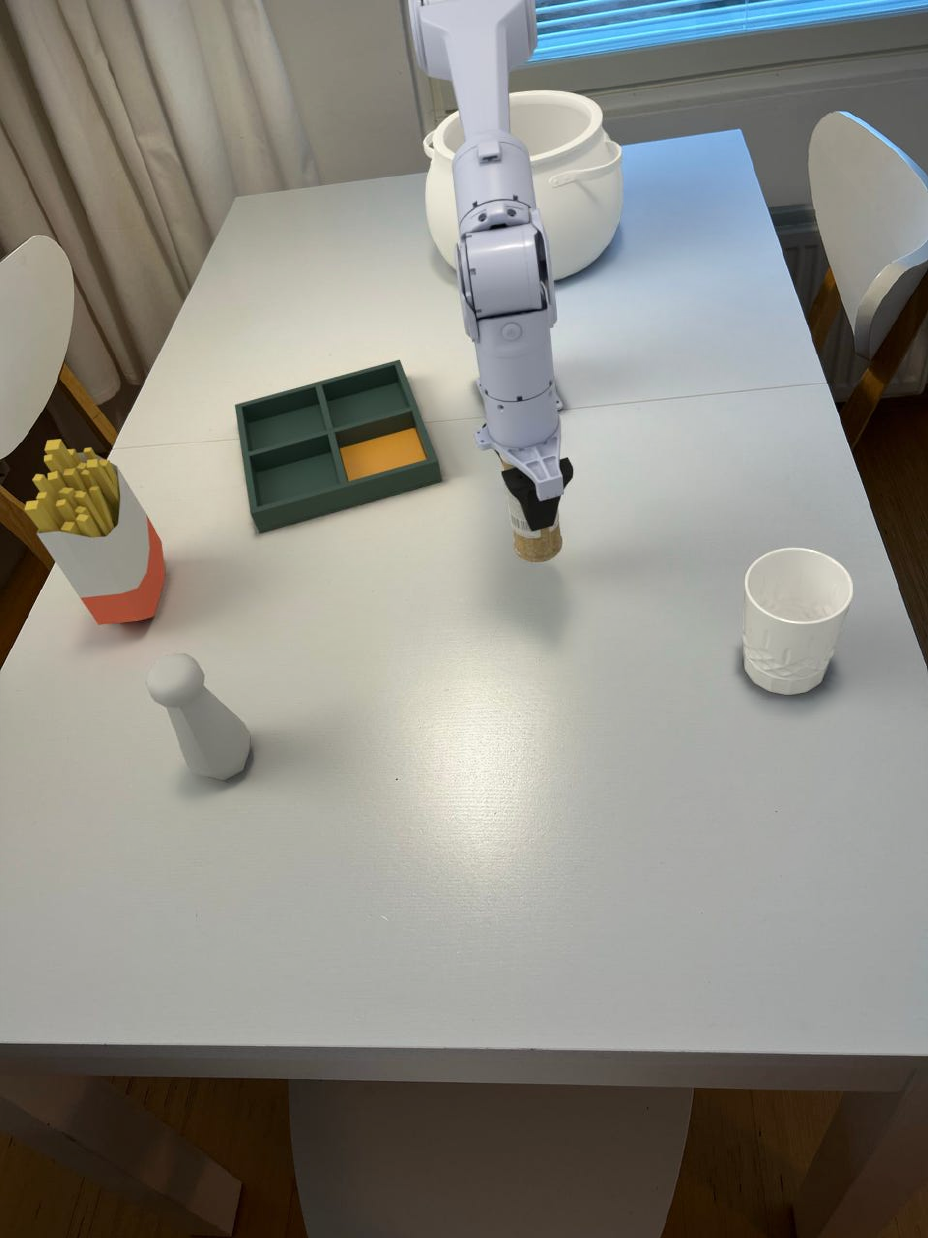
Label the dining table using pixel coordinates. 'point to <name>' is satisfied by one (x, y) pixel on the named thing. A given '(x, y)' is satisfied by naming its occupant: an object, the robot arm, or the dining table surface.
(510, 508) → the sprinkles bottle
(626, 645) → the dining table surface
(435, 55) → the robot arm
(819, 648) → the white cup
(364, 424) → the tray
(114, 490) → the french fries container
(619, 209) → the pot
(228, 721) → the salt shaker
